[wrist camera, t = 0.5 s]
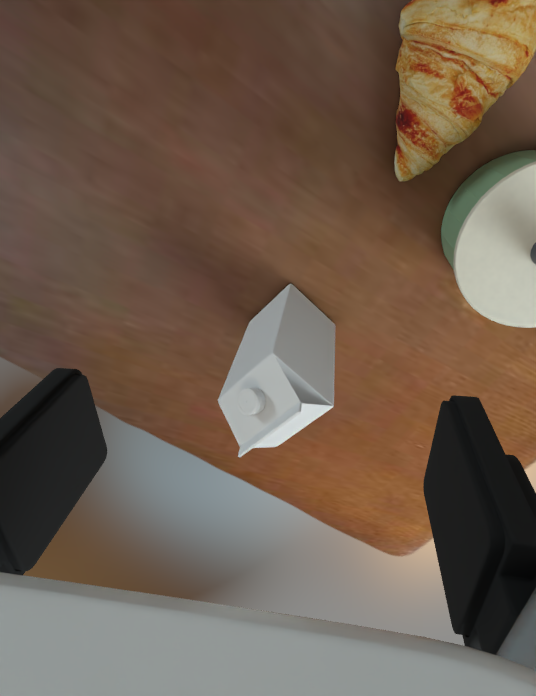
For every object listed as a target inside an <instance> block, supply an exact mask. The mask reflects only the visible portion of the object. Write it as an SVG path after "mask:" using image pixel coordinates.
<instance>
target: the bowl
mask: <svg viewBox="0 0 536 696" xmlns="http://www.w3.org/2000/svg"><path fill="white" fill-rule="evenodd" d="M535 161H536V150H525V151H519V152H514V153H510V154H507V155H504V156H501V157H499V158H496V159H494V160H492V161H490V162H489V163H487V164H485V165H483V166H482V167H481V168H479V169H478V170H476V171H475V172H474V173H473V174H472V175H470V176H469V177H468V178H467V179H466V180H465V181H464V182H463V183H462V184H461V186H460V187H459V188H458V190H457V191H456V192H455V194H454V195H453V197H452V199H451V200H450V202H449V204H448V206H447V209H446V211H445V214H444V218H443V222H442V228H441V240H442V246H443V250H444V255H445V256H446V258H447V260H448V261H449V263H450V265H451V266H452V268H453V270H454V265H453V259H454V249H455V244H456V240H457V237H458V234H459V231H460V229H461V227H462V225H463V223H464V221H465V219H466V217H467V216H468V214H469V213H470V211H471V209H472V208H473V207H474V206H475V204H476V203H477V202H478V201H479V199H480V198H481V197H482V196H483V195H484V194H485V193H486V192H487V191H488V190H489V189H490V188H491V187H493V186H494V185H495V184H496V183H497V182H499V181H500V180H501V179H503V178H504V177H506V176H507V175H509V174H510V173H512V172H514V171H515V170H517V169H519V168H521V167H523V166H525V165H527V164H530V163H532V162H535Z"/></svg>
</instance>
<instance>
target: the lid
mask: <svg viewBox="0 0 536 696" xmlns="http://www.w3.org/2000/svg"><path fill="white" fill-rule="evenodd" d="M453 265H454V274H455V278H456V282H457V284H458V287H459V289H460V291H461V293H462V294H463V296H464V297H465V299H466V300H467V302H468V303H469V304H470V305H471V306H472V307H473V308H474V309H475V310H476V311H477V312H479V313H480V314H481V315H483V316H485V317H486V318H488V319H490V320H492V321H495V322H497V323H500V324H504V325H508V326H514V327H525V328H533V327H536V161H535V162H532V163H530V164H527V165H525V166H523V167H521V168H519V169H517V170H515V171H514V172H512V173H510V174H509V175H507V176H506V177H504V178H503V179H501V180H500V181H499V182H497V183H496V184H495V185H494V186H493V187H491V188H490V189H489V190H488V191H487V192H486V193H485V194H484V195H483V196H482V197H481V198H480V199H479V201H478V202H477V203H476V204H475V206H474V207H473V208H472V209H471V211H470V213H469V214H468V216H467V217H466V219H465V221H464V223H463V225H462V227H461V229H460V231H459V234H458V237H457V240H456V244H455V249H454V259H453Z"/></svg>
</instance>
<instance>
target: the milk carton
mask: <svg viewBox="0 0 536 696" xmlns="http://www.w3.org/2000/svg"><path fill="white" fill-rule="evenodd" d="M334 365H335V324H334V323H333V322H332V321H331V320H330V319H329V318H328V317H327V316H325V315H324V314H323V313H322V312H321V311H320V310H319V309H318V308H317V307H316V306H315V305H314V304H313V303H312V302H311V301H309V300H308V299H307V298H306V297H305V296H304V295H303V294H302V293H301V292H300V291H299V290H298V289H297V288H296V287H295V286H294V285H292V284H289V285H288V286H287V287H286V288H285V289H283V290H282V291H281V292H280V293H279V294H278V295H277V296H276V297H275V298H274V299H273V300H272V301H271V302H270V303H269V304H268V305H267V306H266V307H265V308H263V309H262V310H261V311H260V312H259V313H258V314H257V315H256V316H255V317H254V318H253V319H252V320H251V321H250V322H249V324H248V327H247V329H246V332H245V334H244V337H243V339H242V342H241V344H240V347H239V349H238V352H237V354H236V356H235V359H234V361H233V364H232V366H231V369H230V371H229V374H228V376H227V379H226V381H225V384H224V386H223V389H222V391H221V394H220V396H219V399H218V402H219V405H220V407H221V409H222V411H223V413H224V415H225V417H226V419H227V421H228V423H229V425H230V427H231V429H232V431H233V434H234V436H235V438H236V440H237V442H238V444H239V446H240V450H239V453H238V457H239V458H240V457H241V456H243V455H244V454H245V453H247V452H248V451H249V450H251V449H252V448H262V447H277V446H278V445H280V444H281V443H283V442H284V441H286V440H287V439H288V438H290V437H291V436H293V435H294V434H296V433H297V432H298V431H300V430H301V429H303V428H304V427H306V426H307V425H308V424H310V423H311V422H313V421H314V420H315V419H317V418H318V417H320V416H321V415H323V414H324V413H325V412H327V411H328V410H330V409H331V408H332V407H334Z"/></svg>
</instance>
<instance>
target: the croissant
mask: <svg viewBox="0 0 536 696" xmlns="http://www.w3.org/2000/svg"><path fill="white" fill-rule="evenodd" d="M399 29H400V35H401V38H402V41H403V42H402V44H401V47H400V50H399V55H398V59H397V63H396V67H395V69H396V71H397V72H398V73H399V80H400V102H399V107H398V110H397V115H396V129H397V141H398V145H397V147H396V152H395V161H394V164H395V174H396V176H397V178H398V180H399V181H408V180H411V179H412V178H414V177H415V176H416V175H419V174H422V173H423V172H424V171H428V170H429V169H430V168H431V167H432V166H433V165H434V164H436V163H437V162H439V160H440V158H441V156H442V155H443V154H445V153H447V152H448V151H449V150H450V149H451V148H452V147H453V146H454V145H456V144H459V143H460V142H462V141H464V140H465V139H467V138H468V137H469V136H470V135H471V134H472V132H473V131H475V130H476V129H477V127H478V126H479V125H480V122H481V120H482V117H483V115H484V113H485V112H486V111H488V109H489V107H490V106H492V105H493V104H494V103H495V102H496V101H497V99H498V98H499V97H500V96H502V95H503V94H504V92H505V90H506V89H508V88H509V87H511V86H512V85H513V84H514V83H515V82H516V81H517V80H518V78H519V77H520V76H521V74H522V73H523V72H524V71H525V69H526V68H527V66H528V64H529V63H530V61H531V59H532V57H533V55H534V53H535V51H536V0H411V1H410V2H409V3H408V4H406V6H405V7H404V8H403V9H402V11H401V14H400V21H399Z"/></svg>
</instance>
